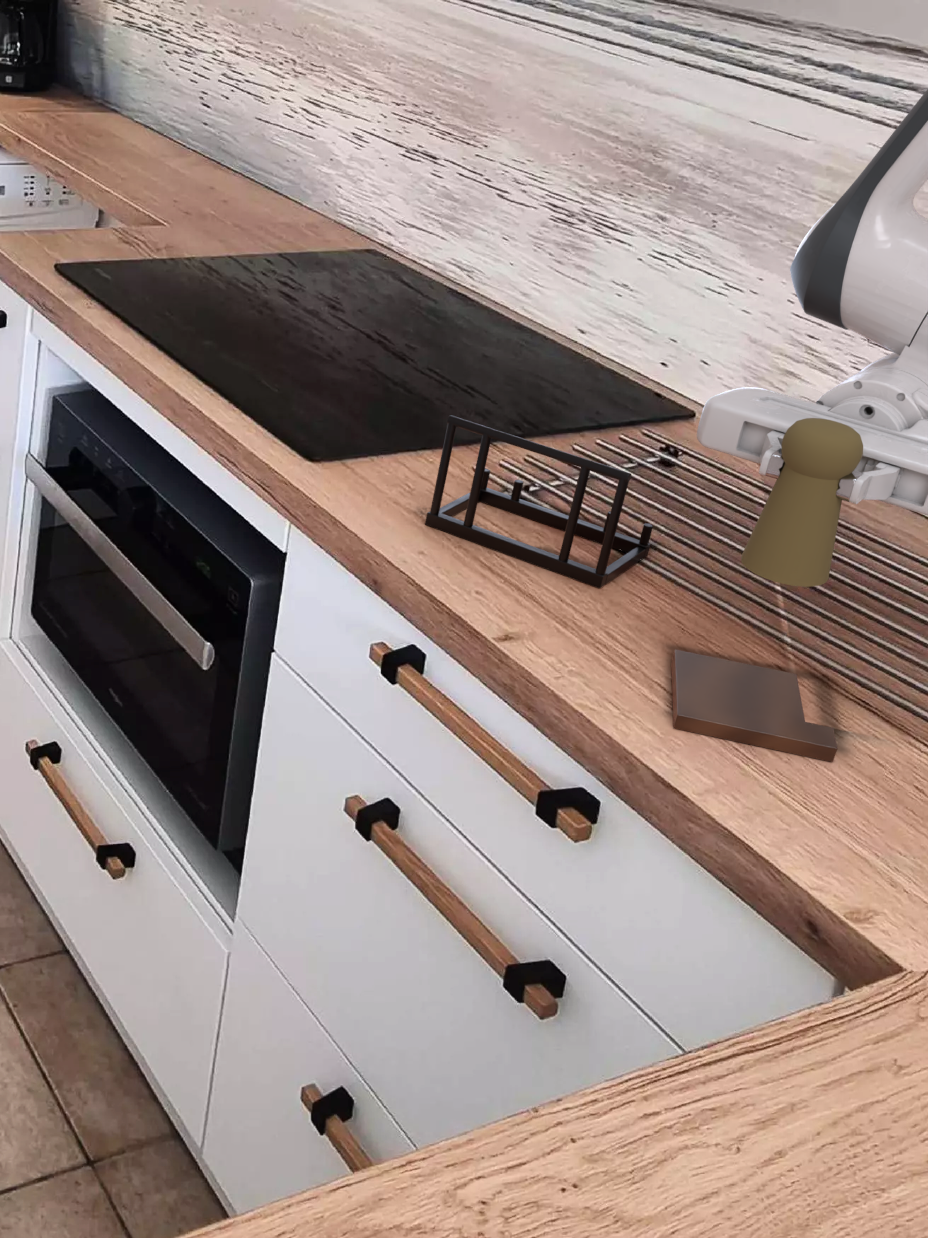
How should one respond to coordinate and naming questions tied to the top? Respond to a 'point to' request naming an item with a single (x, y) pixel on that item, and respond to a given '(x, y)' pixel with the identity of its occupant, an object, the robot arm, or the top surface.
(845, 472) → the cork
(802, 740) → the walnut board
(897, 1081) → the top surface
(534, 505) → the dish rack
